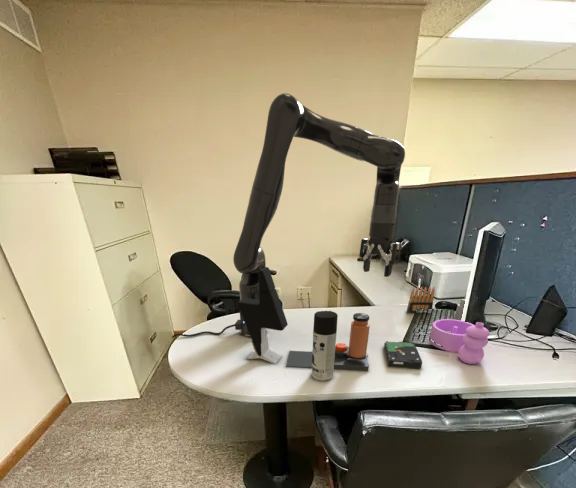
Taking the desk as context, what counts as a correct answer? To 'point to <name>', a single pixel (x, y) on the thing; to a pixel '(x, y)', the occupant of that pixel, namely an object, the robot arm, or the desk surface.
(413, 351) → the disk drive
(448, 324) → the container set
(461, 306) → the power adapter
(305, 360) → the plate
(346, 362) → the grey base plate
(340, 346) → the power button
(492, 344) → the desk surface
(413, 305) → the ammunition clip
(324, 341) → the spray can
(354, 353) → the orange bottle
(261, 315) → the award
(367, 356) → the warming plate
